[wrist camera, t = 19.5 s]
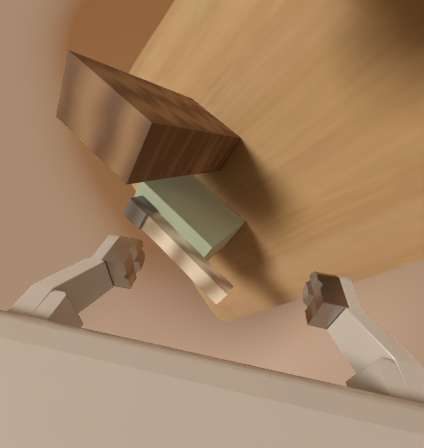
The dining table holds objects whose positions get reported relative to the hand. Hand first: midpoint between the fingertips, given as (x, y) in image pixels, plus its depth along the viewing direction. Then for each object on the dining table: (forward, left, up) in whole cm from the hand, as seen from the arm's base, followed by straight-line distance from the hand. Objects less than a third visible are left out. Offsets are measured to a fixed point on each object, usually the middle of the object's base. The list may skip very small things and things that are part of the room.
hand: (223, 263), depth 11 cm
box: (+1, -22, -36) cm, 42 cm away
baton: (+4, -19, -20) cm, 28 cm away
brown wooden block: (-15, -17, -36) cm, 43 cm away
